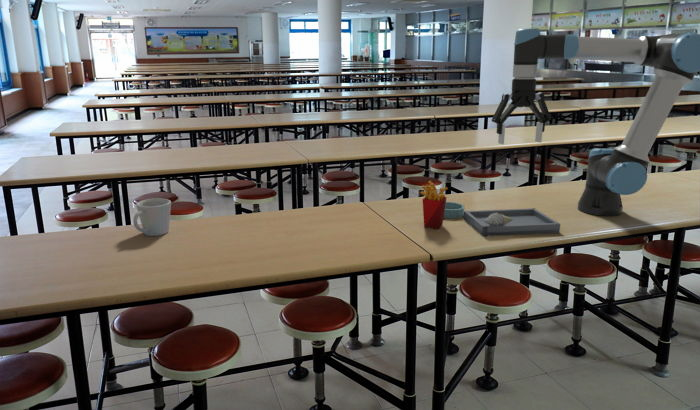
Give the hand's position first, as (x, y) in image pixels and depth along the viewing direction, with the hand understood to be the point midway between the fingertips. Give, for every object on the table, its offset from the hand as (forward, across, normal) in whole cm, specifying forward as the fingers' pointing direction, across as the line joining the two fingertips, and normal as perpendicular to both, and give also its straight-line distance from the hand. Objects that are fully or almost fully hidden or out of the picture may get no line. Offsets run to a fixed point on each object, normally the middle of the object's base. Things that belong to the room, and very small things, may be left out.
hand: (519, 142), depth 186 cm
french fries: (+26, +32, +2) cm, 42 cm away
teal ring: (+26, +20, -10) cm, 35 cm away
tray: (+27, +5, +7) cm, 28 cm away
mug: (+25, +122, -6) cm, 124 cm away
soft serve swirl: (+24, +5, +8) cm, 26 cm away
